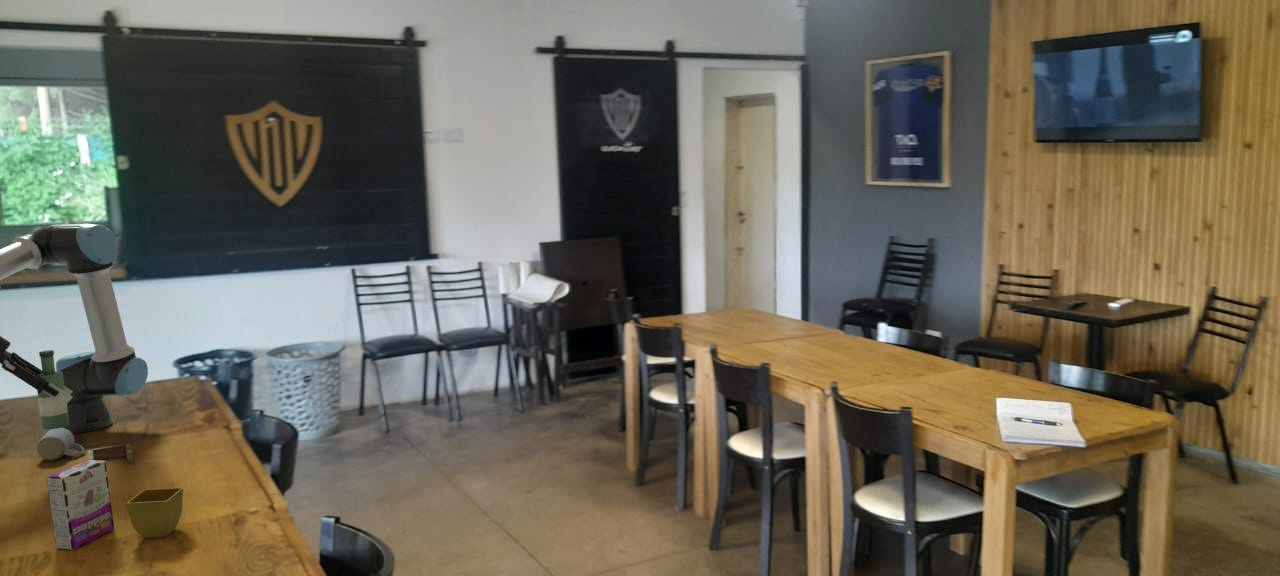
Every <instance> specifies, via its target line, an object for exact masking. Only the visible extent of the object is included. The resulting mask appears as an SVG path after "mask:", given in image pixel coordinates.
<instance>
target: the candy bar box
mask: <svg viewBox="0 0 1280 576" xmlns="http://www.w3.org/2000/svg"><path fill="white" fill-rule="evenodd" d="M106 462H107V461H106V460H103V459H100V460H88V459H87V460H86V461H85V460H84V461H83V462H80V463H77V464H75V465H72V466H70V467H68V468H64V469H62V470H60V471H58V472H55V473H53V474H50V475H47V476H46V483H47V490H48V498H49V502H50V511H51V519H52V522H53V523H52V524H53V532H54V540H55V546H56V549H58V550H68V551H75V550H77V549H79V548H81V547H83V546H85V545H87V544H89V543H91V542H93V541H96V540H97V539H99V538H102V537H103V536H105V535H107V534H110V533H111V532H113V531H115V525H114V516H113V509H112V501H111V496H110V495H111V494H110V486H109V478H108V471H107V463H106Z"/></svg>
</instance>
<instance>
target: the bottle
mask: <svg viewBox="0 0 1280 576" xmlns="http://www.w3.org/2000/svg"><path fill="white" fill-rule="evenodd" d="M54 355H55V352H54V349H53V350H49V349H48V350H42V351H39V353H38V356H39V358H40V362H41V370H42V373H41V374H38V376H40V377H41V378H43V379H44V380H45V381H47V382H48V383H52V384H53V385H55V386H57V387H58V388H60V389H61V390H63V391H64V392H65V388H64V380H63V372H59V371H56V364H55V358H54ZM36 391H37V392H36V393H37V400H38V409H39V415H40V422H41V428H42V429H41V430H51V429H57V428H62V427H65V426H67V425H69V421H68V413H67V404H66V405H63V404H62V403H60V402H58V401H57V400H55V399H54V398H52V397H50V396H49V395H47V394H46V393H44V392H41V393H38V390H36Z"/></svg>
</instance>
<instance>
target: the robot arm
mask: <svg viewBox="0 0 1280 576" xmlns="http://www.w3.org/2000/svg"><path fill="white" fill-rule="evenodd" d="M118 252H119V243H118V239H117V237H116V236H115V233H114V232H113V231H112V230H111V229H110V228H108V227H106V226H105V225H102V224H96V223H95V224H94V223H67V224H66V223H64V224H61V223H60V224H59V223H58V224H51V225H47V226H44V227H40V228H37V229H35V230H32V231H31V232H28V233H25V234H24V235H23V234H22V235H21V236H18V237H16V238H14V239H13V240H12V241H11V243H10V244H8V245H7V246H4V247H3V248H0V281H1V280H3V279H6V278H8V277H10V276H12V275H14V274H16V273H19V272H21V271H23V270H25V269H29V270H31V269H35V268H37V267H40V266H43V265H52V264H53V265H54V264H61V265H63V264H65V265H66V266H67V270H68V273H69V275H72V276H74V277H75V278H76V281H77V285H78V289H79V291H80V296H81V300H82V304H83V307H84V311H85V316H86V319H87V320H86V321H87V324H88V328H89V332H90V335H91V339H92V342H93V347H94V351H92V350H91V351H86V352H79V353H75V354H70V355H67V356H63V357H60V358H58V359H57V361H56V363H55V371H59V372H63V380H64V388H65V392H64V391H63V390H61V389H60V388H58V387H57V386H55V385H53V384H52V383H48V382H47V381H45V380H44V379H43V378H41V377H40V376H38V374H41V373H42V369H40V368H39V367H37V366H36V365H34V364H32V363H31V362H29V361H28V360H26V359H24V358H22V356H20V355H19V354H18V353H16V352H12V353H11V352H9V351H8V349H9V347H10V346H11V342H10V341H9V340H7V339H6V338H4V337H2V336H1V335H0V365H1V368H3V370H4V371H7V372H8V373H10V374H12V375H14V376H15V377H17V378H18V379H20V380H21V381H22V382H24V383H26V384H27V385H29V386H30V387H32V388H34V389H35V390H36V391H37V390H38V392H37V394H38V393H41V392H44V393H46V394H47V395H49V396H50V397H52V398H54V399H55V400H57V401H58V402H60V403H62V404H63V405H66V404H67V413H68V421H69V425H67V426H65V427H62V428H65V429H67V430H69V431H70V432H71V433H72V434H78V433H80V434H81V433H86V432H87V433H88V432H91V431H97V430H101V429H103V428H104V429H105V428H107V427H109V426H111V425H112V424H113V417H112V416H113V415H112V413H111V411H110V409H109V408H108V405H107V403H106V402H105V399H104V396H118V397H124V396H133V395H135V394H137V393H139V392H140V391H141V390H142V389H143V388H144V386H145V384H146V381H147V379H148V376H149V368H148V364H147V362H146V360H144V359H143V358H141V357H139V356H138V357H136V353H135V349H134V347H133V346H130V345H128V344H127V338H126V335H125V334H126V333H125V331H124V327H123V322H122V319H121V315H120V311H119V306H118V303H117V302H118V301H117V298H116V295H115V291H114V285H113V282H112V279H111V274H110V271H111V269H112V268H113V267H114V261H115V260H116V259H117V256H118ZM1 290H2V286H1V284H0V291H1Z"/></svg>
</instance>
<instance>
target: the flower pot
mask: <svg viewBox="0 0 1280 576" xmlns="http://www.w3.org/2000/svg"><path fill="white" fill-rule="evenodd" d="M183 499H184V487H165V488H149V489H142V490H141V491H139V492H138V493H137V494H136V495H135V496H134V497H132V498H130V499H129V500H128V501H127V502H126V507H127V512H128V515H129V518H130V522H131V525H132V527H133V529H134V530H135V531H136V533H137V534H138V535H139V536H140V537H141V538H143V539H149V538H150V539H151V538H166V537H168V535H170V534H171V533H172V532H173V531H174V530H175V529H176V527H177V525H178V524H179V522H180V519H181V516H182V512H183V503H184V501H183Z"/></svg>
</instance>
